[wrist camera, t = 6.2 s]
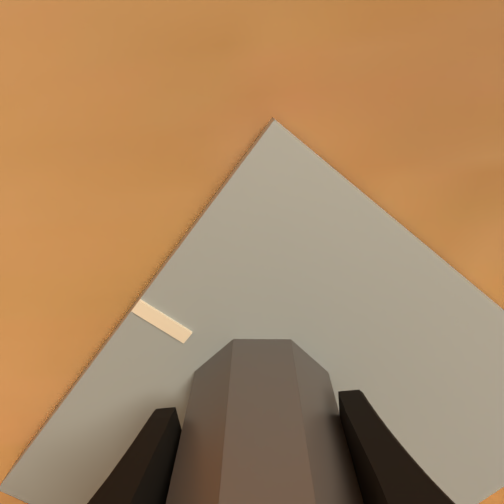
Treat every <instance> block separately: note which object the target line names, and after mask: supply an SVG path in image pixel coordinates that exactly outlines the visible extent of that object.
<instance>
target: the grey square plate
mask: <svg viewBox="0 0 504 504" xmlns="http://www.w3.org/2000/svg"><path fill="white" fill-rule="evenodd" d="M233 339H291V340H292V341H293V342H295V343H296V344H297V345H298V346H299V347H300V348H301V349H303V350H304V351H305V352H306V353H307V354H308V355H309V356H310V357H312V358H313V359H314V360H315V361H316V362H317V363H318V364H320V365H321V366H322V367H323V368H324V369H325V370H326V371H327V372H328V373H329V376H330V380H331V384H332V388H333V391H334V395H335V399H336V402H337V406H338V410H339V398H338V391H348V390H360V391H362V392H363V393H364V395H365V397H366V398H367V400H368V401H369V403H370V404H371V406H372V407H373V409H374V410H375V411H376V413H377V414H378V415H379V417H380V418H381V420H382V421H383V422H384V423H385V425H386V426H387V427H388V429H389V430H390V431H391V433H392V434H393V435H394V436H395V438H396V439H397V440H398V441H399V442H400V444H401V445H402V446H403V447H404V448H405V450H406V451H407V452H408V453H409V454H410V456H411V457H412V458H413V459H414V460H415V461H416V463H417V464H418V465H419V466H420V467H421V468H422V469H423V470H424V471H425V473H426V474H427V475H428V476H429V477H430V478H431V479H432V480H433V481H434V482H435V483H436V484H437V486H438V487H439V488H440V489H441V490H442V491H443V492H444V493H445V494H446V495H447V496H448V497H449V498H450V499H451V500H452V501H453V502H454V503H455V504H478V503H480V502H481V501H483V500H484V499H486V498H487V497H489V496H490V495H492V494H493V493H495V492H496V491H498V490H499V489H501V488H503V487H504V310H503V309H502V308H501V307H500V306H498V305H497V304H496V303H495V302H494V301H492V300H491V299H490V298H489V297H488V296H486V295H485V294H484V293H483V292H482V291H480V290H479V289H478V288H477V287H476V286H474V285H473V284H472V283H471V282H470V281H468V280H467V279H466V278H465V277H464V276H462V275H461V274H460V273H459V272H458V271H456V270H455V269H454V268H453V267H452V266H450V265H449V264H448V263H447V262H446V261H444V260H443V259H442V258H441V257H440V256H438V255H437V254H436V253H435V252H434V251H432V250H431V249H430V248H429V247H428V246H426V245H425V244H424V243H423V242H422V241H420V240H419V239H418V238H417V237H416V236H414V235H413V234H412V233H411V232H409V231H408V230H407V229H406V228H405V227H403V226H402V225H401V224H400V223H399V222H397V221H396V220H395V219H394V218H393V217H391V216H390V215H389V214H388V213H387V212H385V211H384V210H383V209H382V208H381V207H379V206H378V205H377V204H376V203H375V202H373V201H372V200H371V199H370V198H369V197H367V196H366V195H365V194H364V193H363V192H361V191H360V190H359V189H358V188H357V187H355V186H354V185H353V184H352V183H351V182H349V181H348V180H347V179H346V178H345V177H343V176H342V175H341V174H340V173H339V172H337V171H336V170H335V169H334V168H333V167H331V166H330V165H329V164H328V163H327V162H325V161H324V160H323V159H322V158H321V157H319V156H318V155H317V154H316V153H315V152H313V151H312V150H311V149H310V148H309V147H307V146H306V145H305V144H304V143H303V142H301V141H300V140H299V139H298V138H297V137H295V136H294V135H293V134H292V133H291V132H289V131H288V130H287V129H286V128H285V127H283V126H282V125H281V124H280V123H279V122H277V121H276V120H275V119H274V118H273V117H272V119H271V120H270V121H269V123H268V124H267V125H266V127H265V128H264V130H263V131H262V132H261V134H260V135H259V136H258V138H257V139H256V140H255V142H254V143H253V144H252V146H251V147H250V148H249V150H248V151H247V152H246V154H245V155H244V156H243V158H242V159H241V160H240V162H239V163H238V164H237V166H236V167H235V168H234V170H233V171H232V172H231V174H230V175H229V176H228V178H227V179H226V180H225V182H224V183H223V184H222V186H221V187H220V189H219V190H218V191H217V193H216V194H215V195H214V197H213V198H212V199H211V201H210V202H209V203H208V205H207V206H206V207H205V209H204V210H203V211H202V213H201V214H200V215H199V217H198V218H197V219H196V221H195V222H194V223H193V225H192V226H191V227H190V229H189V230H188V231H187V233H186V234H185V235H184V237H183V238H182V239H181V241H180V242H179V243H178V245H177V246H176V248H175V249H174V250H173V252H172V253H171V254H170V256H169V257H168V258H167V260H166V261H165V262H164V264H163V265H162V266H161V268H160V269H159V270H158V272H157V273H156V274H155V276H154V277H153V278H152V280H151V281H150V282H149V284H148V285H147V286H146V288H145V289H144V290H143V292H142V293H141V294H140V296H139V297H138V298H137V300H136V301H135V302H134V304H133V305H132V307H131V308H130V309H129V311H128V312H127V313H126V315H125V316H124V317H123V319H122V320H121V321H120V323H119V324H118V325H117V327H116V328H115V329H114V331H113V332H112V333H111V335H110V336H109V337H108V339H107V340H106V341H105V343H104V344H103V345H102V347H101V348H100V349H99V351H98V352H97V353H96V355H95V356H94V357H93V359H92V360H91V361H90V363H89V364H88V366H87V367H86V368H85V370H84V371H83V372H82V374H81V375H80V376H79V378H78V379H77V380H76V382H75V383H74V384H73V386H72V387H71V388H70V390H69V391H68V392H67V394H66V395H65V396H64V398H63V399H62V400H61V402H60V403H59V404H58V406H57V407H56V408H55V410H54V411H53V412H52V414H51V415H50V416H49V418H48V419H47V420H46V422H45V423H44V425H43V426H42V427H41V429H40V430H39V431H38V433H37V434H36V435H35V437H34V438H33V439H32V441H31V442H30V443H29V445H28V446H27V447H26V449H25V450H24V451H23V453H22V454H21V455H20V457H19V458H18V459H17V461H16V462H15V463H14V465H13V466H12V468H11V470H10V471H9V473H8V474H7V476H6V477H5V479H4V480H3V482H2V483H1V485H0V491H1V492H4V493H6V494H8V495H10V496H13V497H15V498H17V499H19V500H22V501H24V502H26V503H28V504H87V503H88V502H89V501H90V499H91V498H92V497H93V495H94V494H95V493H96V492H97V490H98V489H99V488H100V487H101V485H102V484H103V483H104V481H105V480H106V479H107V477H108V476H109V475H110V473H111V472H112V471H113V469H114V468H115V466H116V465H117V464H118V462H119V461H120V460H121V458H122V457H123V455H124V454H125V453H126V451H127V450H128V448H129V447H130V445H131V444H132V443H133V441H134V440H135V438H136V437H137V435H138V434H139V432H140V431H141V429H142V428H143V426H144V425H145V423H146V422H147V420H148V419H149V417H150V416H151V414H152V413H153V412H154V410H155V409H159V408H170V407H176V411H177V414H178V418H179V422H180V426H181V429H182V427H183V423H184V418H185V414H186V409H187V405H188V400H189V395H190V391H191V386H192V382H193V377H194V373H195V371H196V370H197V369H198V368H199V367H200V366H202V365H203V364H204V363H205V362H206V361H208V360H209V359H210V358H211V357H212V356H214V355H215V354H216V353H217V352H218V351H220V350H221V349H222V348H223V347H224V346H225V345H227V344H228V343H229V342H230V341H231V340H233Z"/></svg>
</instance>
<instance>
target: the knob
mask: <svg viewBox="0 0 504 504" xmlns="http://www.w3.org/2000/svg"><path fill="white" fill-rule="evenodd" d="M166 504H364V502H363V499H362V495H361V491H360V488H359V484H358V480H357V477H356V473H355V469H354V465H353V462H352V458H351V454H350V451H349V448H348V445H347V441H346V438H345V434H344V430H343V427H342V423H341V419H340V415H339V410H338V406H337V402H336V399H335V395H334V391H333V388H332V384H331V380H330V376H329V373H328V372H327V371H326V370H325V369H324V368H323V367H322V366H321V365H320V364H318V363H317V362H316V361H315V360H314V359H313V358H312V357H310V356H309V355H308V354H307V353H306V352H305V351H304V350H303V349H301V348H300V347H299V346H298V345H297V344H296V343H295V342H293V341H292V340H291V339H233V340H231V341H230V342H229V343H228V344H227V345H225V346H224V347H223V348H222V349H221V350H220V351H218V352H217V353H216V354H215V355H214V356H212V357H211V358H210V359H209V360H208V361H206V362H205V363H204V364H203V365H202V366H200V367H199V368H198V369H197V370H196V371H195V373H194V377H193V382H192V386H191V391H190V395H189V400H188V405H187V409H186V414H185V418H184V423H183V427H182V432H181V436H180V441H179V445H178V450H177V454H176V459H175V463H174V468H173V473H172V477H171V482H170V486H169V491H168V495H167V500H166Z"/></svg>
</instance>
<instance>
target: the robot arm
mask: <svg viewBox="0 0 504 504" xmlns="http://www.w3.org/2000/svg"><path fill="white" fill-rule="evenodd" d="M338 398H339V415H340V419H341V423H342V427H343V430H344V434H345V438H346V441H347V445H348V448H349V451H350V454H351V458H352V462H353V465H354V469H355V473H356V477H357V480H358V484H359V488H360V491H361V495H362V499H363V502H364V504H455V503H454V502H453V501H452V500H451V499H450V498H449V497H448V496H447V495H446V494H445V493H444V492H443V491H442V490H441V489H440V488H439V487H438V486H437V484H436V483H435V482H434V481H433V480H432V479H431V478H430V477H429V476H428V475H427V474H426V473H425V471H424V470H423V469H422V468H421V467H420V466H419V465H418V464H417V463H416V461H415V460H414V459H413V458H412V457H411V456H410V454H409V453H408V452H407V451H406V450H405V448H404V447H403V446H402V445H401V444H400V442H399V441H398V440H397V439H396V438H395V436H394V435H393V434H392V433H391V431H390V430H389V429H388V427H387V426H386V425H385V423H384V422H383V421H382V420H381V418H380V417H379V415H378V414H377V413H376V411H375V410H374V409H373V407H372V406H371V404H370V403H369V401H368V400H367V398H366V397H365V395H364V393H363V392H362V391H360V390H348V391H338ZM181 432H182V429H181V426H180V422H179V418H178V414H177V411H176V407H170V408H159V409H155V410H154V412H153V413H152V414H151V416H150V417H149V419H148V420H147V422H146V423H145V425H144V426H143V428H142V429H141V431H140V432H139V434H138V435H137V437H136V438H135V440H134V441H133V443H132V444H131V445H130V447H129V448H128V450H127V451H126V453H125V454H124V455H123V457H122V458H121V460H120V461H119V462H118V464H117V465H116V466H115V468H114V469H113V471H112V472H111V473H110V475H109V476H108V477H107V479H106V480H105V481H104V483H103V484H102V485H101V487H100V488H99V489H98V490H97V492H96V493H95V494H94V495H93V497H92V498H91V499H90V501H89V502H88V503H87V504H166V500H167V495H168V491H169V486H170V482H171V477H172V473H173V468H174V463H175V459H176V454H177V450H178V445H179V441H180V436H181Z"/></svg>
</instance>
